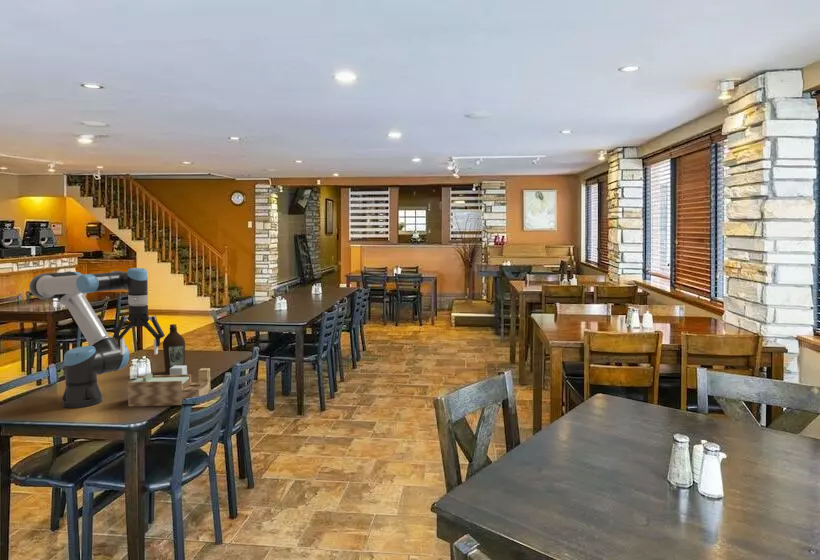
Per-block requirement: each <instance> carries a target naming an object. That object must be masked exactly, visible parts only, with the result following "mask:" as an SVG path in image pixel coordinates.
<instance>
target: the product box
mask: <svg viewBox="0 0 820 560" xmlns="http://www.w3.org/2000/svg"><path fill="white" fill-rule="evenodd" d="M186 374H188V366H187V365H186V364H185V365H184V366H173V367H171V368H170V375H186Z"/></svg>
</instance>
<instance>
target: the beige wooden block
mask: <svg viewBox="0 0 820 560" xmlns="http://www.w3.org/2000/svg"><path fill="white" fill-rule="evenodd" d="M197 373H198V375H197V377H198V379H197V380H198V383H200V382H208V393H209V392H210V391H211V390H212V389H211V368H207V367H203V368H199V369H198V370H197Z"/></svg>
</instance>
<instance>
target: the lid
mask: <svg viewBox="0 0 820 560" xmlns="http://www.w3.org/2000/svg"><path fill="white" fill-rule="evenodd" d="M146 375H147V376H145V375H144V376H145V377H143V378H138V377H137V378H135V380H133V381H132V382H153V381H182V384H183V383H185V382H186V381H187V380H189V377H159V378H153V376H152V375H153V373H148V374H146Z"/></svg>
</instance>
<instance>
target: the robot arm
mask: <svg viewBox="0 0 820 560" xmlns="http://www.w3.org/2000/svg"><path fill="white" fill-rule="evenodd" d="M148 278H149V277H148V271H147V269H146V268H143V267H133V268H131V267H130V268H128V269H127V271H121V270H114V271H110V272H102V273H101V272H100V273H85V274H83V273H81V272H80V271H79V272H78V271H61V272H47V273H45V272H44V273H40V274H38V275H35V276H33V277H32V279H31V281H30V283H29V291H30V293H31V294H32V295H33V296H34V297H36V298H37V299H41V300H52V299H57V300H58V301H59V303H60V305H61V306H65V307H66V308H67V310H68V311H69V312H70V315H71V316H72V318H73V320H74V321H75V323H76V325H77V326H78V328H79V330H80V332H81V333H82V335H83V337H84V338H85V340H86V341H87V343H88V345H84V346H83V345H82V346H78V347H77V346H76V347H74V348H70V349H68V350H67V351H65V353H64V355H63V365H64V368H63V369H64V378H65V389H64V392H63V395H62V398H61V406H62V407H63V408H66V407H67V409H75V408H76V409H78V408H79V409H80V408H85V407H90V406H94V405H98V404H100V403H102V402H103V400H104V399H103V393H102V390H101V389H100V387H99V384H98V377H97V376H99V375H102V374H107V373H112V372H116V371H119V370H123V369H124V368H125V367H126V366H127V365H128V363H129V360H130V351H129V348H128V346H127V344H126V343H125V338H124V336H126V334H127V333H128V332H129V331H130V330H131V328H137V327H140V328H142V327H144V328H145V329H147V331H148V332H149V333H150V334H151V335H152V336H153V337H154V339H153V355H154V356H155V355H158V354H159V347H161V339H164V337H166V336H165V333H164V331H163V329H162V328H161V325H160V324H159V322H158V319H157V315H153V316H150V315H149V305H148V303H149V296H148V294H149V293H148V289H149V288H148V287H149V286H148ZM117 290H118V291H119V290H126V291H128V293H127V294H128V295H127V296H128V303H127V304H128V316H126V315H121V316H120V321H119V324H118V325H117V327H116V330H115V331H114V333H113V335H112V336H110V335H109V333H108V332H107V330H106V329H105V327H104V325H103V324H102V322H101V320H100V319H99V316H98V315H97V313H96V312H95V310H94V308H93V306H92V305H91V303H90V302H89V300H88V299H87V297H86V296H87V294H90V293H91V294H92V293H98V292H99V293H100V292H107V291H109V292H110V291H117ZM149 320H150V322H152V325H153V326H154V328H155V329H154V328H153V327H152V325H151V324H150V323H149ZM127 321H128V322H129V323H128V324H127V326H126V327H125V328H124V329H123V327H124V325H125V323H126V322H127ZM122 330H123V331H122ZM121 331H122V332H121ZM120 332H121V333H120ZM116 339H117V340H116Z"/></svg>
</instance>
